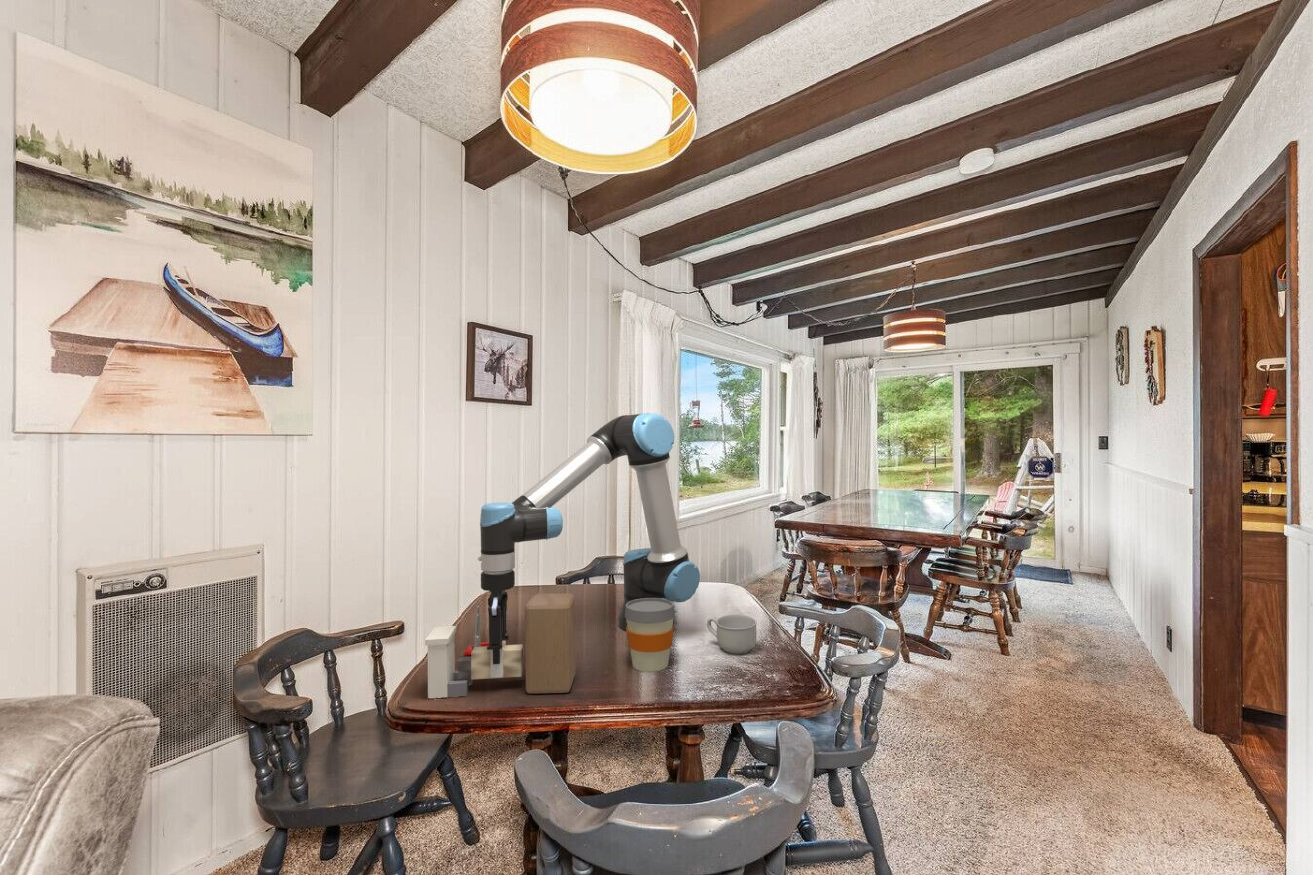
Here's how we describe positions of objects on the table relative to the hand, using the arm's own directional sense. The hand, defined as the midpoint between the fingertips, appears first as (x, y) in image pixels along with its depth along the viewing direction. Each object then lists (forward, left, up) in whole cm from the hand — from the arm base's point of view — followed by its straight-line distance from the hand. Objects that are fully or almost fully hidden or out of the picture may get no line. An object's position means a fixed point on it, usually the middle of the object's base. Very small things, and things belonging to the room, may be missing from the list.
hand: (498, 672), depth 128 cm
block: (-12, +1, -3) cm, 13 cm away
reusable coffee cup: (-36, -7, -3) cm, 37 cm away
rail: (+2, 0, 0) cm, 2 cm away
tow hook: (+7, -25, -4) cm, 26 cm away
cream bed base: (+11, 0, -3) cm, 11 cm away
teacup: (-59, -14, -3) cm, 61 cm away
